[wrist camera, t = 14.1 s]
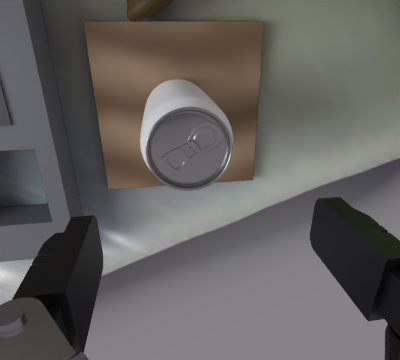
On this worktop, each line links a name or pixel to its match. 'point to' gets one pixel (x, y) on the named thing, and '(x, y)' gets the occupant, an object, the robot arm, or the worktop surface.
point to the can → (185, 136)
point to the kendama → (144, 8)
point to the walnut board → (168, 70)
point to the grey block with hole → (33, 130)
